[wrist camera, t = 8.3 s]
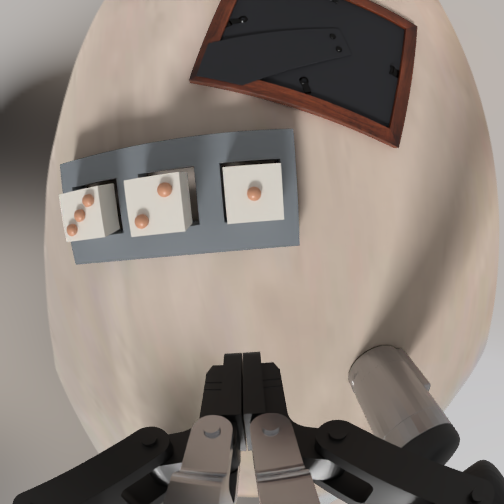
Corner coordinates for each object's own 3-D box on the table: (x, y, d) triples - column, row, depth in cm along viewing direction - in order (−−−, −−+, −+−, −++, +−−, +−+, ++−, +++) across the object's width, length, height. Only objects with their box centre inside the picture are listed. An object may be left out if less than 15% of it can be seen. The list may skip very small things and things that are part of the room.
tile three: (115, 182, 27) (95, 186, 23) (121, 227, 28) (103, 238, 24) (79, 190, 27) (56, 195, 22) (85, 232, 28) (64, 243, 24)
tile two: (188, 171, 26) (177, 172, 21) (193, 221, 27) (184, 232, 23) (140, 178, 26) (121, 180, 21) (146, 227, 27) (129, 238, 23)
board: (288, 132, 29) (293, 128, 26) (294, 238, 32) (299, 245, 29) (73, 163, 28) (60, 164, 25) (87, 257, 32) (75, 264, 29)
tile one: (274, 163, 27) (281, 162, 23) (277, 212, 29) (284, 220, 24) (225, 167, 27) (222, 167, 23) (229, 216, 29) (227, 225, 24)
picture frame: (191, 84, 27) (391, 148, 30) (188, 79, 25) (399, 147, 28) (240, -32, 22) (411, 30, 25) (240, -40, 20) (418, 25, 23)
